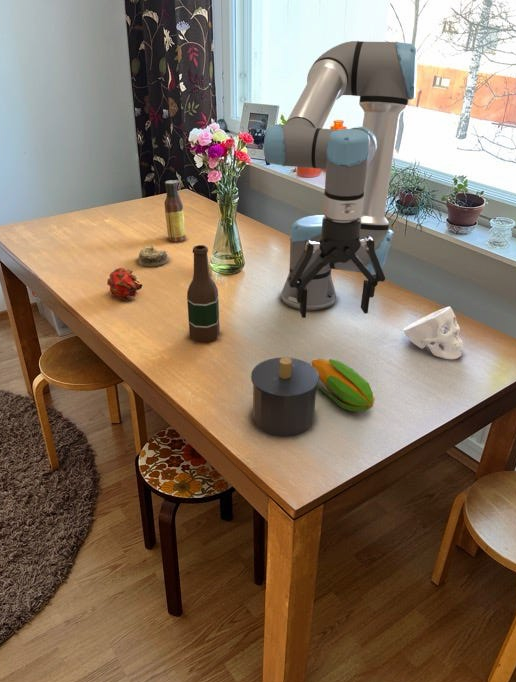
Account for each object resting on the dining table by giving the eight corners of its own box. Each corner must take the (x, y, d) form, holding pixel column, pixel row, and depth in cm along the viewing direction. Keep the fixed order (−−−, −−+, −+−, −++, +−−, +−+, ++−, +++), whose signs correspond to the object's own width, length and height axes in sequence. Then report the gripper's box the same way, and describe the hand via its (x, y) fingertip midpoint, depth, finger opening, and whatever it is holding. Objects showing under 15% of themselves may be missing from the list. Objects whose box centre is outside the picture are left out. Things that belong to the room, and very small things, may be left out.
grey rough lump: (156, 271, 185) (153, 255, 181) (132, 264, 189) (128, 249, 186) (175, 258, 191) (173, 242, 188) (151, 252, 195) (149, 237, 192)
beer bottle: (225, 333, 152) (223, 245, 138) (208, 346, 147) (204, 256, 133) (201, 325, 155) (196, 238, 142) (183, 338, 150) (176, 249, 136)
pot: (249, 401, 128) (249, 363, 122) (306, 397, 129) (308, 359, 124) (258, 439, 118) (258, 399, 112) (319, 433, 119) (322, 393, 113)
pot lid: (247, 364, 123) (246, 345, 120) (310, 359, 124) (311, 340, 122) (256, 403, 112) (256, 383, 109) (325, 397, 113) (327, 377, 111)
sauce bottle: (189, 238, 206) (185, 180, 195) (178, 244, 202) (174, 185, 190) (175, 234, 209) (170, 177, 198) (163, 240, 205) (158, 182, 193)
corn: (359, 394, 117) (300, 349, 131) (353, 424, 121) (296, 378, 135) (386, 384, 121) (326, 342, 134) (379, 414, 125) (322, 370, 139)
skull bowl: (456, 364, 138) (439, 315, 135) (408, 370, 149) (392, 326, 147) (478, 347, 144) (462, 300, 142) (431, 355, 155) (415, 312, 153)
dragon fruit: (117, 291, 175) (137, 311, 169) (94, 283, 168) (114, 303, 162) (131, 267, 173) (152, 286, 167) (109, 257, 166) (130, 277, 160)
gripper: (282, 227, 110) (279, 325, 122) (410, 220, 112) (395, 316, 125) (275, 213, 116) (273, 308, 128) (397, 206, 118) (383, 300, 131)
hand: (333, 312), depth 127 cm, fingers open, 13 cm apart
